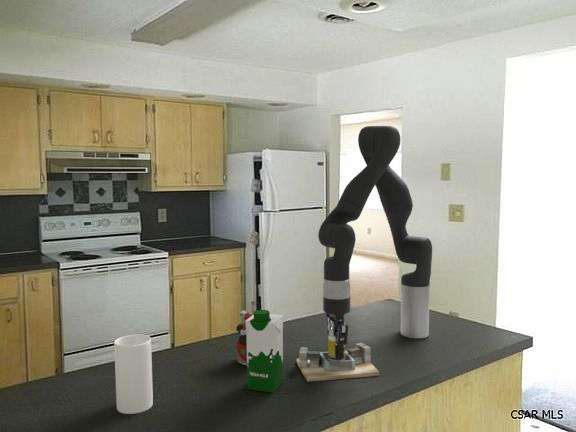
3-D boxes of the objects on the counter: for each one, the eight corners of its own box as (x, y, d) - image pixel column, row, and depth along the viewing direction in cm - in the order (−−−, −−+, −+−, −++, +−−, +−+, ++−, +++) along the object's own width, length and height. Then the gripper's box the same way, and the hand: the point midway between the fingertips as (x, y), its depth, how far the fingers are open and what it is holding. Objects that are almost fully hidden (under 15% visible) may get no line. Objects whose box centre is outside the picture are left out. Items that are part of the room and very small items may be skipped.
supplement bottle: (344, 362, 138) (344, 333, 137) (327, 361, 139) (327, 332, 138) (345, 356, 142) (345, 327, 142) (329, 355, 143) (329, 326, 142)
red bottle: (277, 358, 148) (276, 299, 147) (262, 370, 140) (261, 307, 138) (245, 353, 153) (245, 295, 151) (229, 364, 144) (228, 303, 143)
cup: (121, 398, 123) (119, 334, 121) (155, 397, 124) (153, 333, 122) (112, 414, 115) (110, 346, 113) (149, 413, 115) (147, 345, 114)
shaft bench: (295, 362, 146) (294, 345, 145) (363, 356, 149) (363, 340, 149) (305, 381, 132) (305, 363, 131) (380, 375, 136) (381, 357, 135)
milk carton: (242, 390, 127) (241, 312, 125) (256, 376, 136) (255, 303, 134) (275, 395, 124) (274, 316, 122) (287, 380, 133) (286, 306, 131)
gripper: (357, 300, 132) (357, 363, 134) (342, 288, 146) (342, 345, 148) (330, 302, 131) (330, 365, 133) (317, 289, 145) (317, 346, 147)
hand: (336, 354), depth 140 cm, fingers closed on supplement bottle, 4 cm apart
